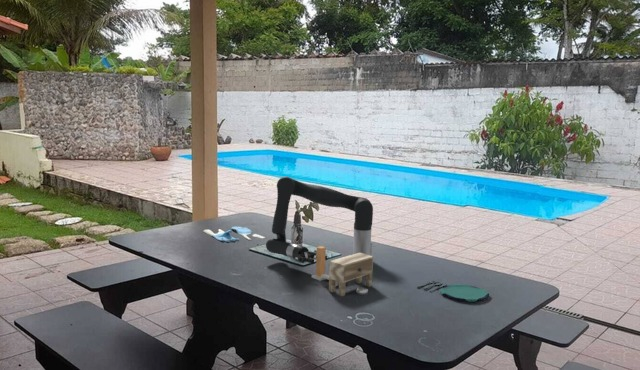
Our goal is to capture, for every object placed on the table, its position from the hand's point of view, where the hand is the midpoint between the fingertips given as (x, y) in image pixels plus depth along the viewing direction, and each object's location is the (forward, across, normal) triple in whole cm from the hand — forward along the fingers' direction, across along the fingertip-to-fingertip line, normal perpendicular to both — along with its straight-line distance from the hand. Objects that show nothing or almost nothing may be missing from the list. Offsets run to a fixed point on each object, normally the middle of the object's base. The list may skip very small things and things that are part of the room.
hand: (320, 259), depth 256 cm
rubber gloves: (-92, +16, +10) cm, 94 cm away
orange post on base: (+5, 0, +9) cm, 10 cm away
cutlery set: (+54, +32, +9) cm, 63 cm away
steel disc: (+27, 0, +9) cm, 28 cm away
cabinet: (+20, 0, +9) cm, 22 cm away
